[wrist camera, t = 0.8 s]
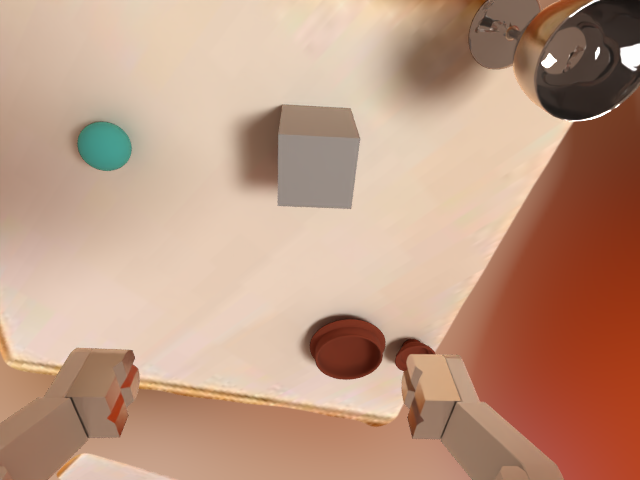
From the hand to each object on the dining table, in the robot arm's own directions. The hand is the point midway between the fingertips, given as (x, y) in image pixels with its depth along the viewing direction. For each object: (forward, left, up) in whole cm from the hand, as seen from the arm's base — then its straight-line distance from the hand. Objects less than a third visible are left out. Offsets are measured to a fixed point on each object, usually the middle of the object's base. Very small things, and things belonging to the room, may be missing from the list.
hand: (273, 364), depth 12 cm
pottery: (+39, +13, -36) cm, 55 cm away
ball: (+7, -20, -33) cm, 39 cm away
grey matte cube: (+6, +2, -36) cm, 36 cm away
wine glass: (-6, +20, -36) cm, 42 cm away
